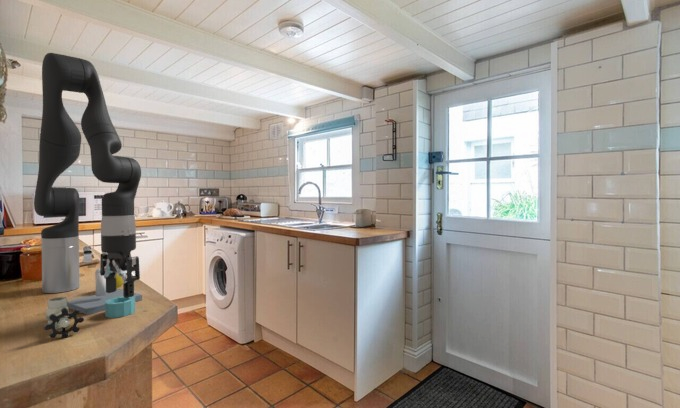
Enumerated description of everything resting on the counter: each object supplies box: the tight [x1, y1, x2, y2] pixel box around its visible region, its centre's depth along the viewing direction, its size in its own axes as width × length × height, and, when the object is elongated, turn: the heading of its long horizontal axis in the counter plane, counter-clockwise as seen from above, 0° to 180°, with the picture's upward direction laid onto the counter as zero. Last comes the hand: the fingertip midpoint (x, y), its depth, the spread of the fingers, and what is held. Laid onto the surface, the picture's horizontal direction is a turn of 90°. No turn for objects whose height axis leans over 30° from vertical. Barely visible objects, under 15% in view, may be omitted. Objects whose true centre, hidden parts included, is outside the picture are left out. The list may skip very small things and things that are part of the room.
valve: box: [43, 296, 85, 340], centre depth 74 cm, size 7×7×12 cm
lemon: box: [114, 273, 124, 290], centre depth 105 cm, size 6×6×8 cm
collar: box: [104, 296, 136, 319], centre depth 85 cm, size 6×6×4 cm
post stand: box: [67, 267, 143, 316], centre depth 93 cm, size 12×14×10 cm
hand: (119, 294), depth 85 cm, fingers open, 8 cm apart
